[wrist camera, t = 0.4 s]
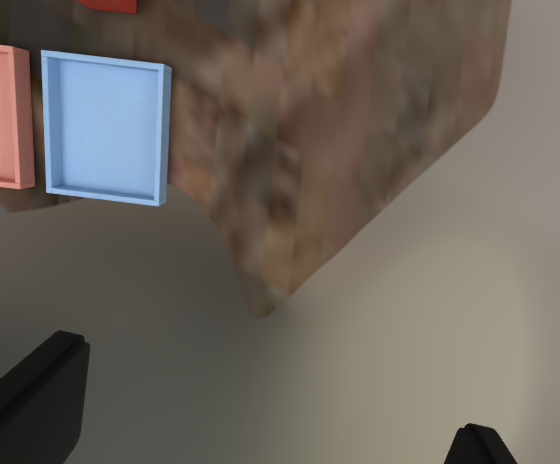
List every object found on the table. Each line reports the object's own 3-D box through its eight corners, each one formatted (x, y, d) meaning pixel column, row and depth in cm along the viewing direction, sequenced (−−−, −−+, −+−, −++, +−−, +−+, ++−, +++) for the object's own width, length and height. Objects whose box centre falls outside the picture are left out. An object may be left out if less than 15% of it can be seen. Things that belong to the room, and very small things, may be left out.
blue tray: (55, 54, 41) (40, 49, 39) (171, 67, 41) (163, 63, 39) (59, 189, 45) (46, 192, 43) (166, 202, 45) (158, 206, 42)
